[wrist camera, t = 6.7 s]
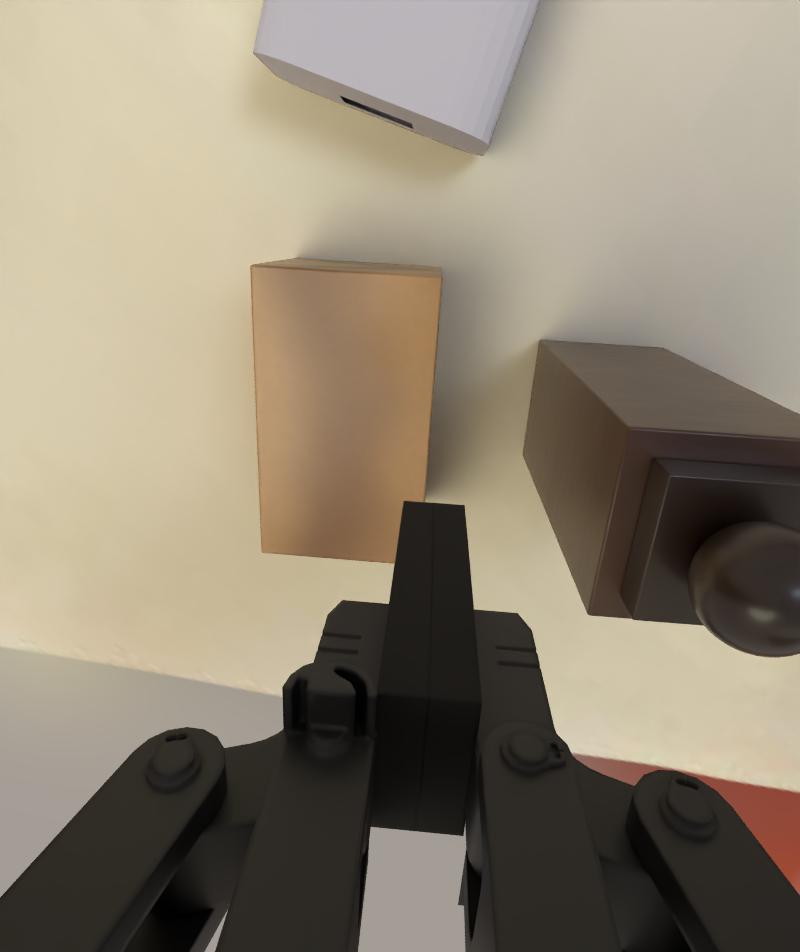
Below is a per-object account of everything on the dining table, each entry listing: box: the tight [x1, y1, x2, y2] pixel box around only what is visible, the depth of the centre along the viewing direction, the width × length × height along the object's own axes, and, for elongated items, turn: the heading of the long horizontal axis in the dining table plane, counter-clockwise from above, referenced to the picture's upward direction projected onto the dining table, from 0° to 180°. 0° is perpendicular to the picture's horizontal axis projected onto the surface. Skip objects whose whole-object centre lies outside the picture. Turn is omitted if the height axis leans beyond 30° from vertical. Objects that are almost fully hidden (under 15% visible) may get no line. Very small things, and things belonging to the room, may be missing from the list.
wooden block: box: [250, 258, 442, 563], centre depth 27 cm, size 7×12×7 cm, turn 177°
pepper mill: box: [523, 340, 800, 657], centre depth 22 cm, size 14×6×17 cm
